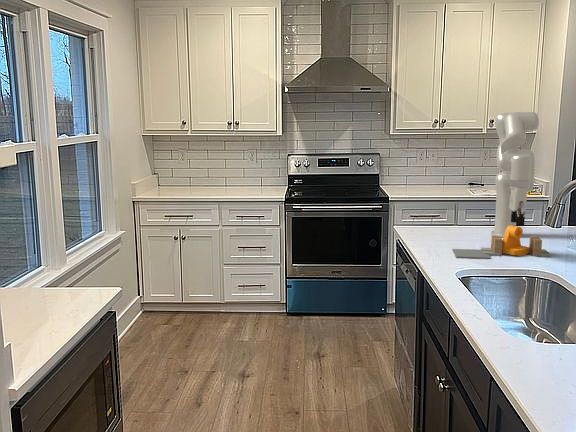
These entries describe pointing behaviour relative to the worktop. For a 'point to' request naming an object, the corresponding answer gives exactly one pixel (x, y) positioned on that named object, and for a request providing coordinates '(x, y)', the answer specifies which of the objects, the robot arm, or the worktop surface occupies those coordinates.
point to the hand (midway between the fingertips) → (517, 224)
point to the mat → (470, 253)
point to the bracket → (513, 242)
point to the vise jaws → (534, 246)
